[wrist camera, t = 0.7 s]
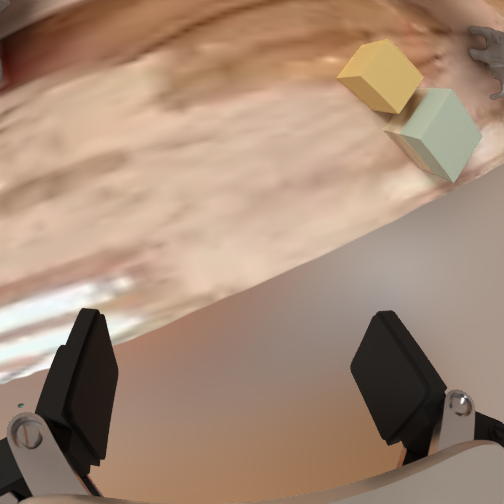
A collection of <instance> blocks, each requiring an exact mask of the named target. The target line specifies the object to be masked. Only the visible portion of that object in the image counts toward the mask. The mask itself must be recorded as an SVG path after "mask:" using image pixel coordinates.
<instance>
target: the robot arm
mask: <svg viewBox="0 0 504 504" xmlns="http://www.w3.org/2000/svg"><path fill="white" fill-rule="evenodd" d="M350 367H351V373H352V375H353V377H354V379H355V381H356V383H357V385H358V388H359V390H360V392H361V394H362V396H363V398H364V400H365V403H366V405H367V407H368V409H369V411H370V414H371V416H372V418H373V420H374V422H375V425H376V426H377V429H378V431H379V433H380V436H381V437H382V439H383V440H386V443H387V445H388V446H389V445H392V444H395V443H398V442H400V441H402V443H403V447H402V450H401V453H400V457H399V460H398V463H397V466H396V469H394V470H391V471H388V472H386V473H383V474H380V475H377V476H374V477H371V478H367V479H364V480H361V481H357V482H354V483H350V484H347V485H343V486H339V487H335V488H331V489H327V490H323V491H318V492H313V493H309V494H304V495H298V496H292V497H286V498H280V499H272V500H264V501H254V502H243V503H230V504H504V424H503V423H502V422H500V421H498V420H496V419H493V418H491V417H488V416H486V415H483V414H481V413H479V412H476V411H475V405H474V402H473V400H472V399H471V397H470V396H469V395H468V394H467V393H465V392H463V391H461V390H452V391H450V392H448V394H447V395H446V394H445V393H444V392H445V390H446V389H447V387H446V385H445V384H444V382H443V380H442V379H441V378H440V376H439V374H438V373H437V371H436V370H435V368H434V367H433V366H432V364H431V363H430V361H429V360H428V358H427V357H426V355H425V354H424V352H423V351H422V350H421V348H420V347H419V345H418V344H417V343H416V341H415V340H414V338H413V337H412V335H411V334H410V333H409V331H408V330H407V329H406V327H405V326H404V325H403V323H402V322H401V320H400V319H399V318H398V316H397V315H396V314H395V312H393V311H391V310H390V311H379V312H377V313H376V315H375V316H373V318H372V320H371V322H370V324H369V326H368V329H367V331H366V333H365V335H364V338H363V340H362V342H361V344H360V346H359V348H358V350H357V352H356V354H355V356H354V358H353V361H352V363H351V366H350ZM117 380H118V366H117V363H116V359H115V356H114V352H113V348H112V344H111V340H110V336H109V332H108V328H107V323H106V319H105V316H104V314H100V312H99V310H97V309H87V308H82V309H81V310H80V312H79V314H78V316H77V319H76V321H75V323H74V326H73V328H72V330H71V333H70V335H69V337H68V340H67V342H66V345H61V346H60V347H59V348H58V350H57V352H56V355H55V357H54V360H53V362H52V365H51V367H50V370H49V373H48V375H47V378H46V381H45V384H44V387H43V389H42V392H41V395H40V398H39V402H38V404H37V407H36V411H35V413H32V412H23V413H19V414H18V415H16V416H15V417H13V418H12V420H11V421H10V422H9V424H8V427H7V437H6V438H4V439H2V440H0V504H167V503H150V502H140V501H130V500H122V499H114V498H106V497H104V496H103V495H102V493H101V492H100V491H99V490H98V488H97V487H96V485H95V484H94V483H93V481H92V480H91V478H90V477H89V475H88V474H89V473H90V465H94V466H100V459H101V460H104V459H105V457H106V449H107V441H108V434H109V427H110V420H111V414H112V408H113V402H114V396H115V391H116V386H117Z"/></svg>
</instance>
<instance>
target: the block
mask: <svg viewBox="0 0 504 504" xmlns="http://www.w3.org/2000/svg"><path fill="white" fill-rule="evenodd" d="M423 78H424V77H423V76H422V74H421V73H420V72H419V71H418V70H417V69H416V68H415V66H414V65H413V64H412V63H411V62H410V61H409V60H408V59H407V58H406V56H405V55H404V54H403V53H402V52H401V51H400V50H399V49H398V48H397V47H396V46H395V45H394V44H393V43H392V42H391V41H390V40H389V39H385V40H380V41H376V42H372V43H368V44H364V45H362V46H361V47H360V48H359V49H358V51H357V52H356V53H355V55H354V56H353V57H352V58H351V60H350V61H349V62H348V64H347V65H346V66H345V68H344V69H343V70H342V71H341V73H340V74H339V75H338V77H337V78H336V79H338V80H339V81H340V82H341V83H342V84H344V85H345V86H346V87H347V88H348V89H349V90H350V91H352V92H353V93H354V94H355V95H356V96H357V97H358V98H359V99H360V100H362V101H363V102H364V103H365V104H366V105H367V106H368V107H369V108H370V109H371V110H375V111H382V112H389V113H395V114H399V113H400V112H401V110H402V109H403V108H404V106H405V105H406V103H407V102H408V100H409V99H410V97H411V96H412V94H413V93H414V91H415V90H416V88H417V87H418V85H419V84H420V82H421V81H422V79H423Z"/></svg>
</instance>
